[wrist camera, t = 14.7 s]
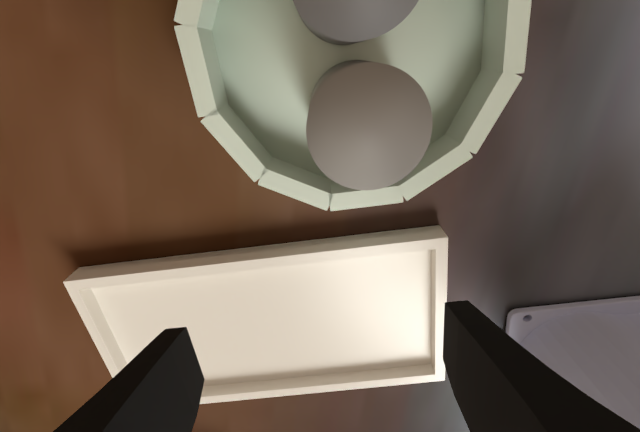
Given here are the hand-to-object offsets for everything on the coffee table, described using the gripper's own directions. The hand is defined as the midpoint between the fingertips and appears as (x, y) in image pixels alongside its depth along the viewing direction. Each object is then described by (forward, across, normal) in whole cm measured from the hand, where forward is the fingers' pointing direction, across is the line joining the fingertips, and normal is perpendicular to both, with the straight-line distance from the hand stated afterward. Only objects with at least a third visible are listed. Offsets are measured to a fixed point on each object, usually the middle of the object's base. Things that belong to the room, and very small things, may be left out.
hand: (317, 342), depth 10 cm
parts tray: (+9, +4, +7) cm, 12 cm away
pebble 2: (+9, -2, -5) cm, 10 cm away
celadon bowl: (+9, -2, -7) cm, 12 cm away
